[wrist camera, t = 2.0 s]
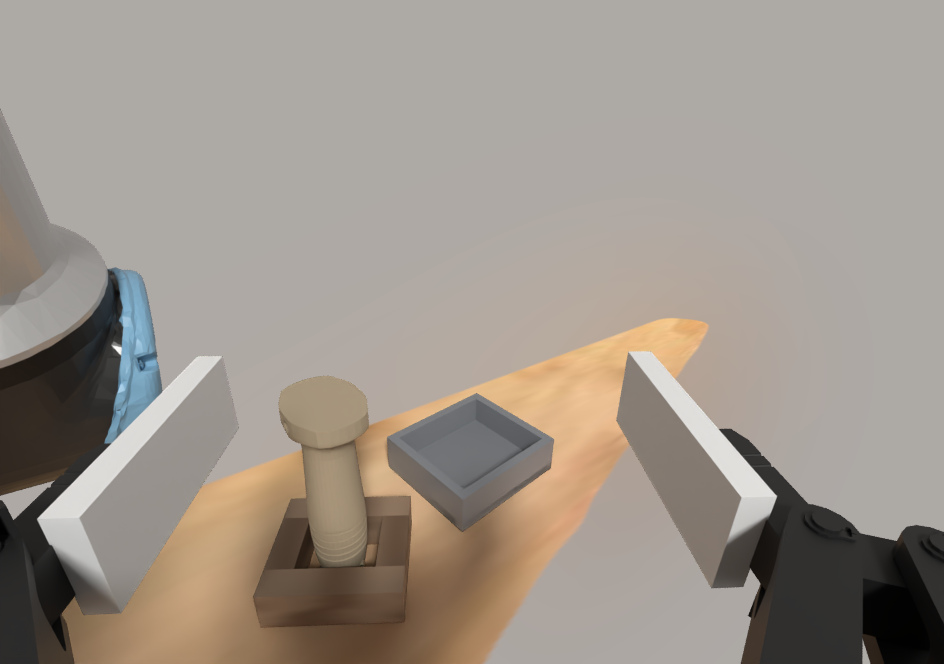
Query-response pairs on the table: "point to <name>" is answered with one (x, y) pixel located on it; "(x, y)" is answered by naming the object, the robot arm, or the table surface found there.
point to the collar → (337, 572)
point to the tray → (469, 458)
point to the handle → (330, 464)
